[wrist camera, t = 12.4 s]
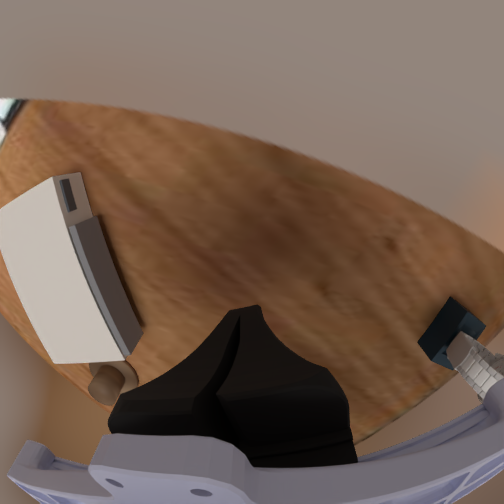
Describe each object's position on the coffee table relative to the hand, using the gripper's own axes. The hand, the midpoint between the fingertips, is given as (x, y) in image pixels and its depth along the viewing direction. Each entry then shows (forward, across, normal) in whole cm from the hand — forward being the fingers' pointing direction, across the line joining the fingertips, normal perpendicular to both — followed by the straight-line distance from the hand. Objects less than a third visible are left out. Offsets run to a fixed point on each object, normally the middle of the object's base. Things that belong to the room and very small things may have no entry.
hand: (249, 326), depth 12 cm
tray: (+9, +15, -1) cm, 17 cm away
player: (+9, +16, -3) cm, 19 cm away
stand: (+9, +17, +9) cm, 21 cm away
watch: (+10, -17, +12) cm, 23 cm away
